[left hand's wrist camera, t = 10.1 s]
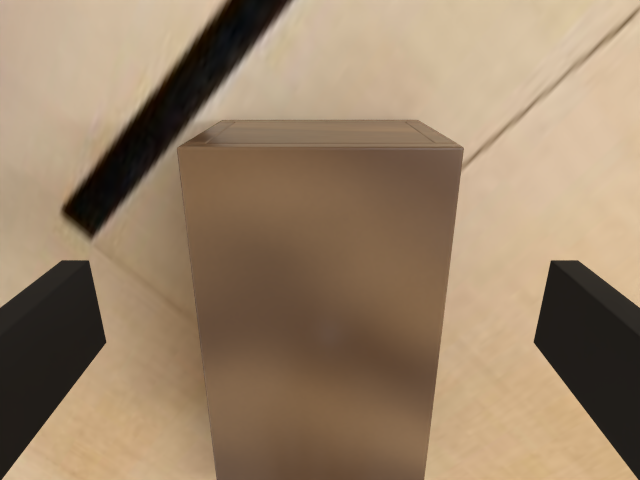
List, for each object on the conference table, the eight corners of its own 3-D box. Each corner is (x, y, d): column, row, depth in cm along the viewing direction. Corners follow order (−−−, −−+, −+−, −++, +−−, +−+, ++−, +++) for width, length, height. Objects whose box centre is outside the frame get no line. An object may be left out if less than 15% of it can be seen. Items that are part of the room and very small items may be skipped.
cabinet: (396, 392, 33) (422, 500, 25) (243, 392, 33) (218, 500, 25) (418, 120, 25) (464, 147, 17) (221, 120, 25) (175, 147, 17)
